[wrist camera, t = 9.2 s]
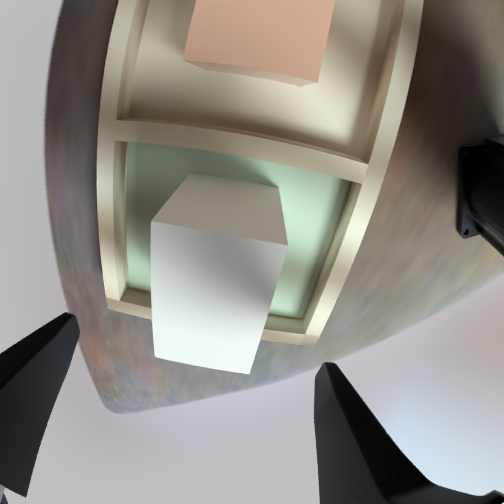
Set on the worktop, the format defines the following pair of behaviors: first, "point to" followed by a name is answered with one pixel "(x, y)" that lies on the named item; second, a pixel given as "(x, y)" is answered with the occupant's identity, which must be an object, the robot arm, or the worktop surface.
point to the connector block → (215, 270)
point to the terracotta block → (260, 38)
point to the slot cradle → (251, 146)
